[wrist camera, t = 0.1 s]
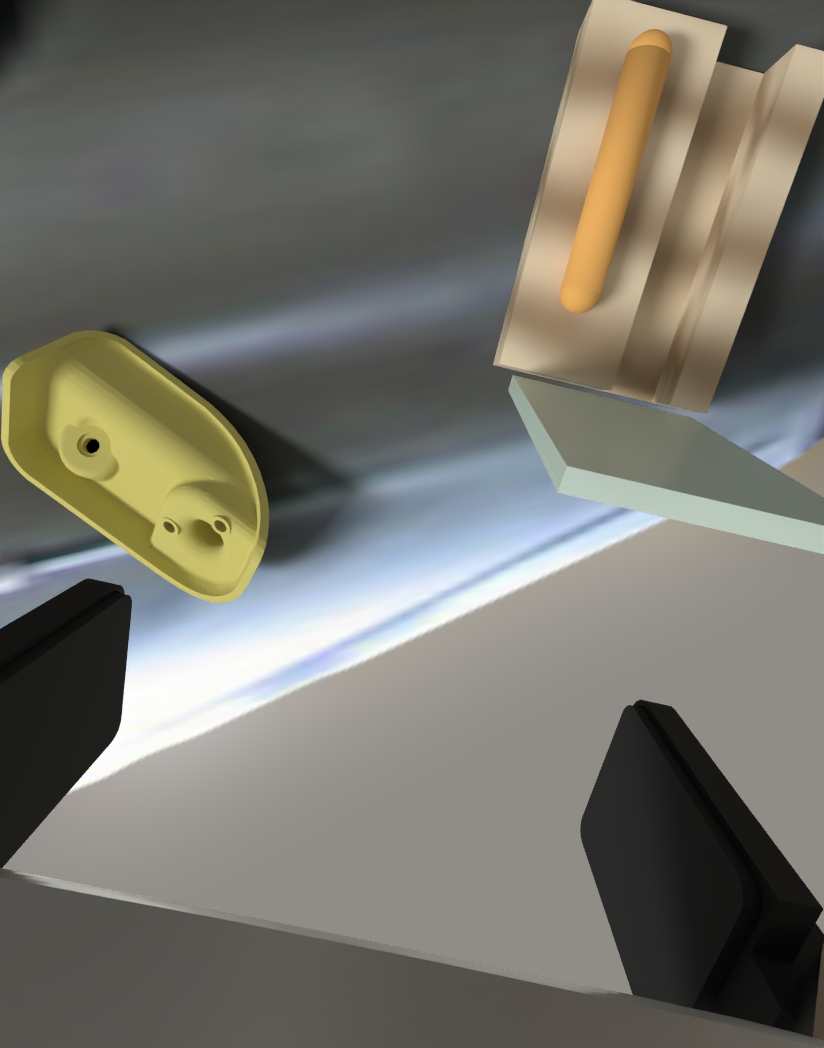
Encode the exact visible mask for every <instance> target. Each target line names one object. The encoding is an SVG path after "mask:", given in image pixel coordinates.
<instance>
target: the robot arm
mask: <svg viewBox="0 0 824 1048" xmlns="http://www.w3.org/2000/svg"><path fill="white" fill-rule="evenodd" d="M131 609H132V600H131V597H130V596H129V595H125V594H124V589H123V587H122V586H121V585H116V584H112V583H107V582H103V581H98V580H94V579H85V580H83V581H81V582H79V583H78V584H76V585H74V586H73V587H71V588H69V589H67V590H66V591H64V592H62V593H61V594H59V595H57V596H56V597H54V598H52V599H50V600H49V601H47V602H45V603H44V604H42V605H40V606H38V607H37V608H35V609H33V610H32V611H30V612H28V613H27V614H25V615H23V616H21V617H20V618H18V619H16V620H15V621H13V622H11V623H9V624H8V625H6V626H4V627H3V628H1V629H0V1048H824V934H823V933H822V932H821V930H820V928H819V927H818V926H817V924H816V921H817V919H818V918H819V916H820V914H821V912H822V911H823V908H822V906H821V905H820V904H819V902H818V901H817V900H816V898H815V897H814V896H813V894H812V893H811V892H810V890H809V889H808V888H807V886H806V885H805V884H804V882H803V881H802V880H801V878H800V877H799V876H798V874H797V873H796V872H795V870H794V869H793V868H792V866H791V865H790V864H789V862H788V861H787V860H786V858H785V857H784V855H783V854H782V853H781V851H780V850H779V849H778V847H777V846H776V845H775V843H774V842H773V841H772V839H771V838H770V837H769V835H768V834H767V833H766V831H765V830H764V829H763V827H762V826H761V825H760V823H759V822H758V821H757V819H756V818H755V817H754V815H753V814H752V813H751V812H750V810H749V809H748V807H747V806H746V805H745V803H744V802H743V800H742V799H741V798H740V796H739V795H738V794H737V792H736V791H735V790H734V788H733V787H732V786H731V784H730V783H729V782H728V780H727V779H726V778H725V776H724V775H723V774H722V772H721V771H720V770H719V769H718V767H717V766H716V764H715V763H714V762H713V760H712V759H711V758H710V756H709V755H708V754H707V752H706V751H705V749H704V748H703V747H702V745H701V744H700V743H699V741H698V740H697V739H696V737H695V736H694V735H693V733H692V732H691V731H690V729H689V728H688V727H687V725H686V724H685V723H684V721H683V720H682V719H681V717H680V716H679V714H678V713H677V712H676V711H675V709H673V708H672V707H671V706H667V705H663V704H658V703H653V702H649V701H644V700H639V701H637V702H636V703H635V704H634V705H633V706H631V705H629V706H627V707H626V708H625V709H624V711H623V713H622V715H621V718H620V721H619V723H618V726H617V728H616V731H615V734H614V736H613V739H612V741H611V744H610V747H609V749H608V752H607V754H606V757H605V760H604V762H603V765H602V767H601V770H600V773H599V775H598V778H597V781H596V783H595V786H594V788H593V791H592V794H591V796H590V799H589V801H588V804H587V807H586V809H585V812H584V814H583V817H582V821H581V839H582V843H583V846H584V849H585V852H586V855H587V858H588V861H589V864H590V867H591V870H592V873H593V876H594V879H595V882H596V885H597V888H598V891H599V894H600V897H601V900H602V903H603V906H604V909H605V912H606V915H607V918H608V921H609V924H610V927H611V930H612V933H613V936H614V939H615V942H616V945H617V948H618V951H619V954H620V958H621V961H622V964H623V966H624V970H625V973H626V975H627V979H628V981H629V985H630V988H631V991H632V994H633V995H630V994H625V993H620V992H615V991H610V990H605V989H600V988H596V987H591V986H586V985H581V984H577V983H572V982H567V981H562V980H558V979H553V978H548V977H543V976H539V975H534V974H529V973H524V972H519V971H515V970H510V969H505V968H500V967H495V966H490V965H486V964H481V963H476V962H471V961H467V960H462V959H457V958H452V957H447V956H442V955H437V954H432V953H427V952H422V951H418V950H413V949H408V948H403V947H398V946H393V945H388V944H383V943H378V942H373V941H368V940H363V939H358V938H353V937H349V936H343V935H339V934H334V933H328V932H324V931H319V930H314V929H308V928H303V927H299V926H294V925H289V924H284V923H278V922H274V921H269V920H264V919H258V918H254V917H249V916H244V915H239V914H233V913H228V912H224V911H219V910H214V909H208V908H203V907H198V906H193V905H188V904H183V903H177V902H172V901H167V900H162V899H157V898H152V897H146V896H141V895H137V894H131V893H126V892H121V891H116V890H111V889H106V888H101V887H96V886H90V885H85V884H80V883H75V882H69V881H65V880H60V879H54V878H49V877H44V876H39V875H33V874H29V873H23V872H17V871H12V870H7V869H2V867H3V866H4V865H5V864H6V863H7V862H8V861H9V859H10V858H11V857H12V856H13V855H14V854H15V852H16V851H17V850H18V849H19V848H20V847H21V846H22V844H23V843H24V842H25V841H26V840H27V839H28V837H29V836H30V835H31V834H32V833H33V832H34V831H35V829H36V828H37V827H38V826H39V825H40V824H41V823H42V821H43V820H44V819H45V818H46V817H47V816H48V814H49V813H50V812H51V811H52V810H53V809H54V808H55V806H56V805H57V804H58V803H59V802H60V801H61V800H62V798H63V797H64V796H65V795H66V794H67V793H68V792H69V790H70V789H71V788H72V787H73V786H74V785H75V783H76V782H77V781H78V780H79V779H80V778H81V777H82V775H83V774H84V773H85V772H86V771H87V770H88V769H89V767H90V766H91V765H92V764H93V763H94V762H95V760H96V759H97V758H98V757H99V756H100V755H101V754H102V752H103V751H104V750H105V749H106V748H107V747H108V746H109V744H110V743H111V742H112V741H113V739H114V738H115V736H116V734H117V732H118V729H119V726H120V723H121V715H122V704H123V694H124V683H125V672H126V662H127V651H128V640H129V630H130V619H131Z"/></svg>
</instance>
